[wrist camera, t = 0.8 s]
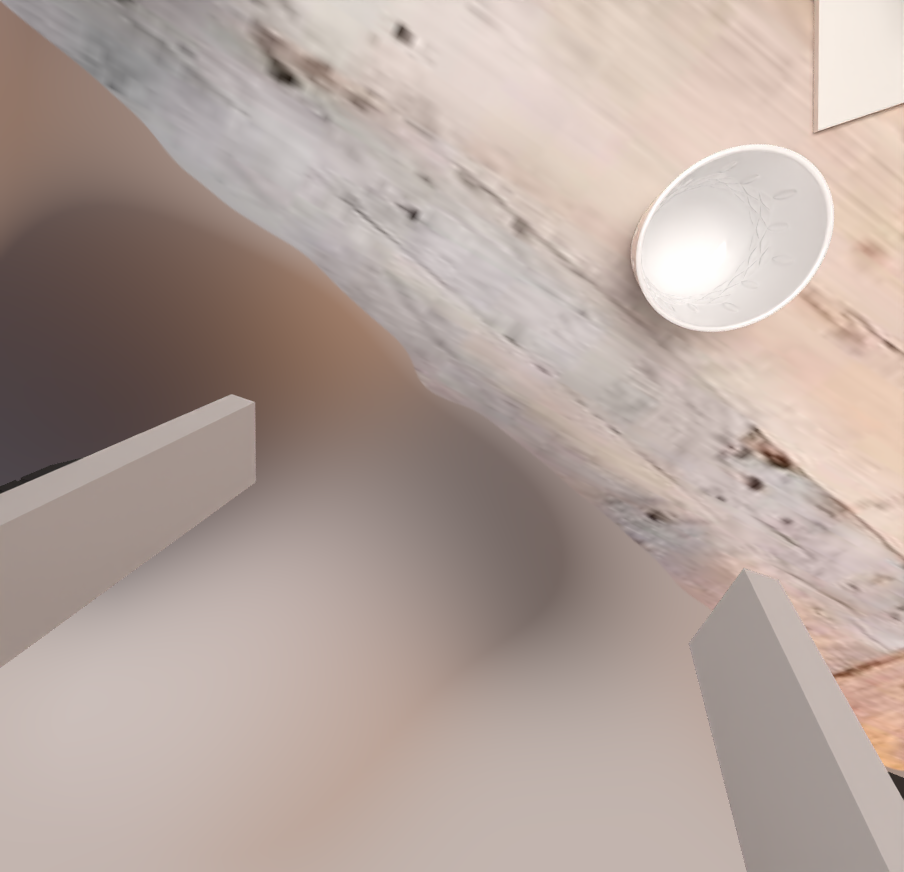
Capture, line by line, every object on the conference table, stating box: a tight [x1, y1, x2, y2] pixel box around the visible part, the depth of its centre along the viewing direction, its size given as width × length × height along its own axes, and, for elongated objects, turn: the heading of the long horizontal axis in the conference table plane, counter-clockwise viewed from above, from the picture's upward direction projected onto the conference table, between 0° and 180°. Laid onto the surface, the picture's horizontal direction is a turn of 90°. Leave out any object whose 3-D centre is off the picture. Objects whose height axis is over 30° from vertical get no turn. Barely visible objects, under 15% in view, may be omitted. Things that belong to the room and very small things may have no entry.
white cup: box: [631, 144, 834, 332], centre depth 24 cm, size 8×8×10 cm
